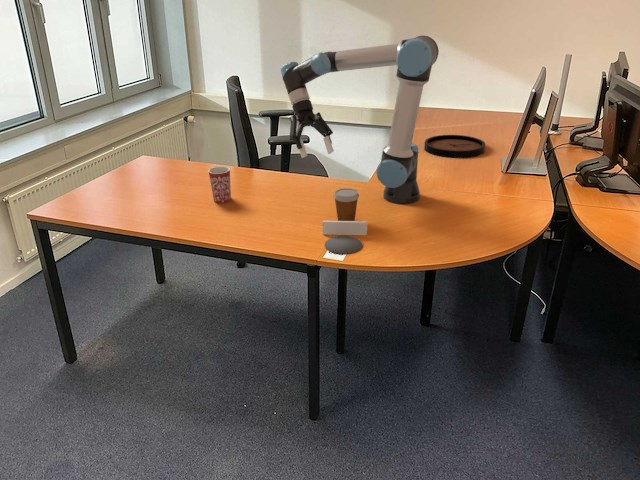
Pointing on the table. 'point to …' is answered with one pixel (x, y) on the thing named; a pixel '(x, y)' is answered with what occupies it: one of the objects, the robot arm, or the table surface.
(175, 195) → the table surface
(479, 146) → the wall clock
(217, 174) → the mug
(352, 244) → the rubber pad
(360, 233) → the low wall
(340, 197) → the disposable coffee cup
